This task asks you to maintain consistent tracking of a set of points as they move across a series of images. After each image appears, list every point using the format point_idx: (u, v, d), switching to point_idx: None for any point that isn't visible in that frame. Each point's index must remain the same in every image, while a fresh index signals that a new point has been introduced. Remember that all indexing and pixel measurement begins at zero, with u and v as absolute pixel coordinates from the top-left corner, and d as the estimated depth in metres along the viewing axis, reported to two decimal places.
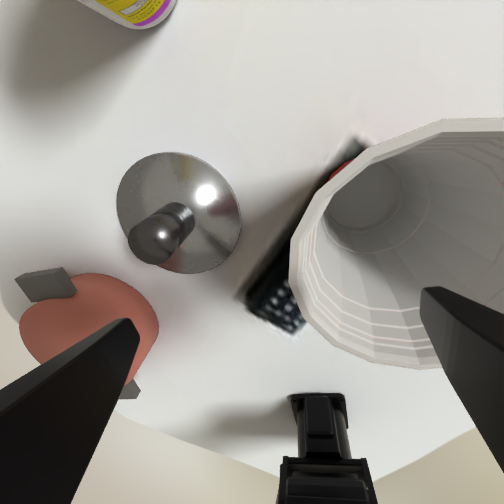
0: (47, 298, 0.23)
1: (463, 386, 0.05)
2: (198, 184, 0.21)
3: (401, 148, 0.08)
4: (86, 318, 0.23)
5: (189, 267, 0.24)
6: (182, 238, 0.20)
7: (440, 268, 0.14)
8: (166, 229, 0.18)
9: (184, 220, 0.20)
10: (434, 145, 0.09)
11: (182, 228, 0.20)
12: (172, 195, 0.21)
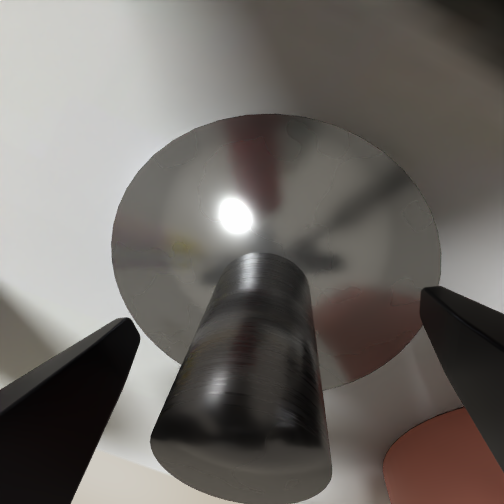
0: None
1: (463, 386, 0.05)
2: (168, 228, 0.08)
3: None
4: None
5: (412, 291, 0.08)
6: (269, 316, 0.06)
7: None
8: (178, 392, 0.04)
9: (232, 287, 0.07)
10: None
11: (239, 306, 0.06)
12: (202, 291, 0.09)
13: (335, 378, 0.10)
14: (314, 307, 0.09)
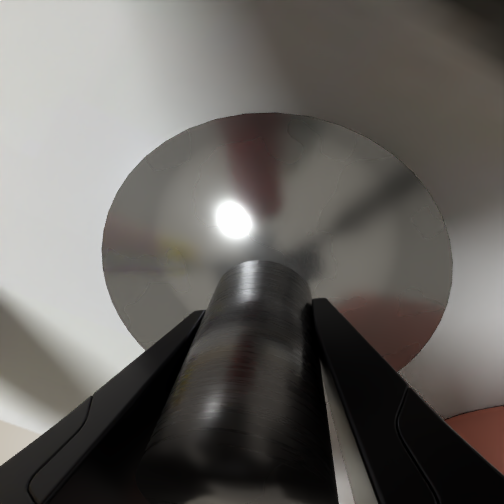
0: None
1: (326, 389, 0.06)
2: (162, 234, 0.08)
3: None
4: None
5: (421, 302, 0.08)
6: (269, 334, 0.05)
7: None
8: (168, 424, 0.04)
9: (228, 299, 0.06)
10: None
11: (236, 322, 0.05)
12: (199, 300, 0.09)
13: None
14: None
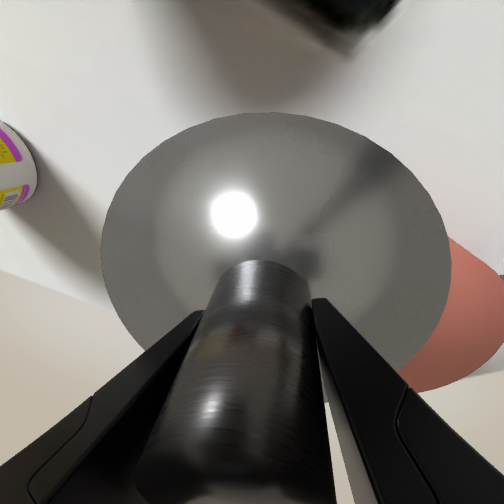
0: None
1: (326, 390, 0.06)
2: (161, 234, 0.08)
3: None
4: None
5: (420, 302, 0.08)
6: (268, 333, 0.05)
7: None
8: (166, 423, 0.04)
9: (227, 299, 0.06)
10: None
11: (235, 321, 0.05)
12: (198, 300, 0.09)
13: None
14: None
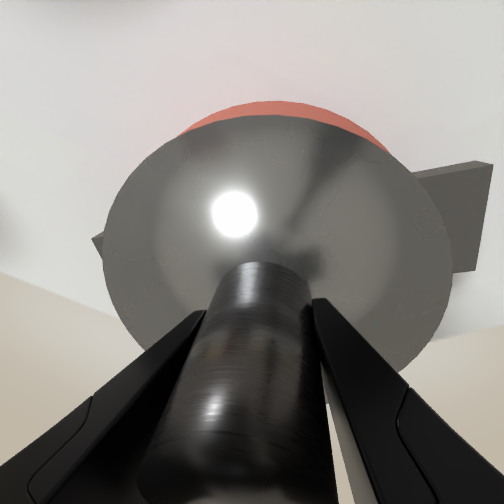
0: None
1: (326, 389, 0.06)
2: (162, 236, 0.08)
3: None
4: None
5: (421, 303, 0.08)
6: (269, 336, 0.05)
7: None
8: (168, 426, 0.04)
9: (229, 301, 0.06)
10: None
11: (236, 324, 0.05)
12: (199, 302, 0.09)
13: None
14: None
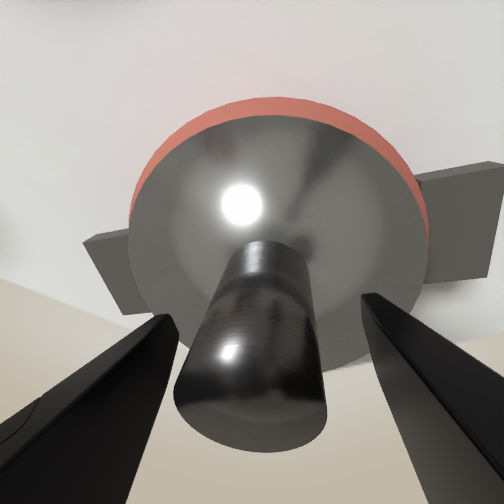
0: None
1: (387, 388, 0.06)
2: (181, 218, 0.09)
3: None
4: None
5: (403, 276, 0.09)
6: (274, 291, 0.06)
7: None
8: (198, 348, 0.05)
9: (240, 269, 0.08)
10: None
11: (247, 283, 0.07)
12: (211, 277, 0.10)
13: (333, 360, 0.11)
14: (313, 292, 0.10)
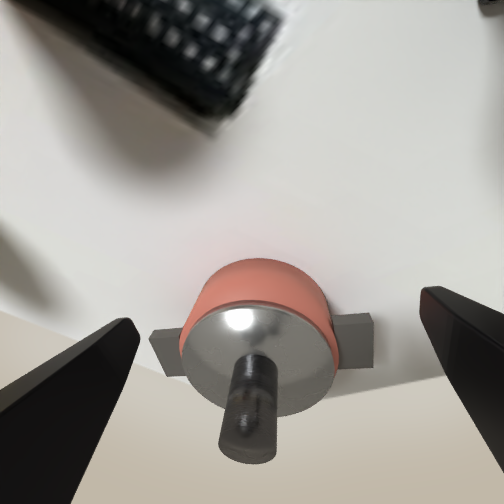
0: None
1: (463, 386, 0.05)
2: (212, 342, 0.18)
3: None
4: None
5: (324, 373, 0.18)
6: (258, 394, 0.15)
7: None
8: (228, 425, 0.14)
9: (243, 377, 0.16)
10: None
11: (246, 389, 0.15)
12: (226, 368, 0.19)
13: (292, 409, 0.20)
14: (280, 377, 0.18)
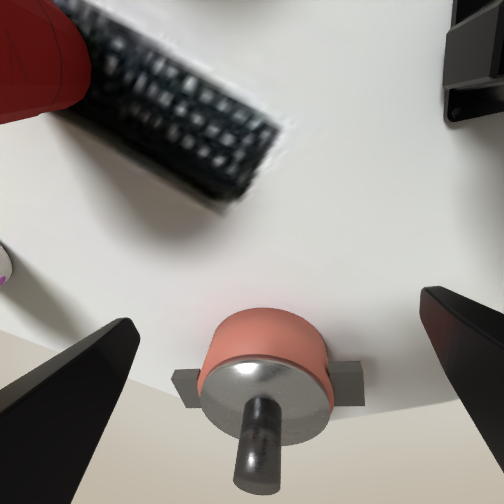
0: None
1: (463, 386, 0.05)
2: (226, 388, 0.21)
3: None
4: None
5: (321, 413, 0.21)
6: (264, 437, 0.18)
7: None
8: (241, 465, 0.17)
9: (252, 420, 0.19)
10: None
11: (255, 432, 0.19)
12: (237, 407, 0.22)
13: (295, 440, 0.23)
14: (284, 415, 0.22)
